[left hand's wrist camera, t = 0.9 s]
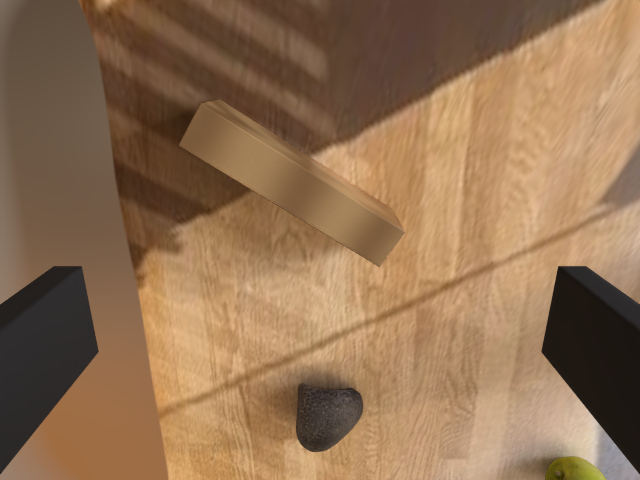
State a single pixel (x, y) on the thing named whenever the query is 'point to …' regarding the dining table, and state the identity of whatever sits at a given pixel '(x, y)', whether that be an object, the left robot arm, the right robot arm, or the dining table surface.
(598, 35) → the dining table surface
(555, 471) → the apple
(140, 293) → the dining table surface
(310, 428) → the stone
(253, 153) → the bar
